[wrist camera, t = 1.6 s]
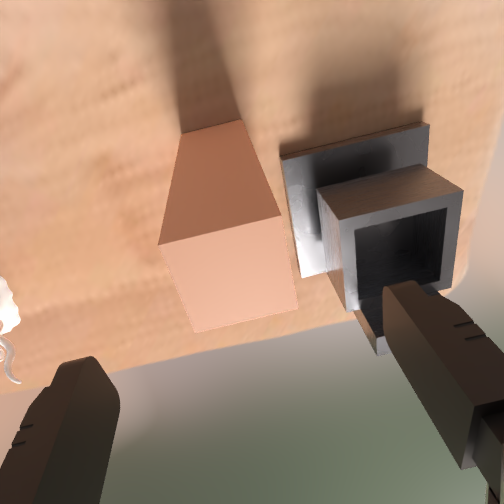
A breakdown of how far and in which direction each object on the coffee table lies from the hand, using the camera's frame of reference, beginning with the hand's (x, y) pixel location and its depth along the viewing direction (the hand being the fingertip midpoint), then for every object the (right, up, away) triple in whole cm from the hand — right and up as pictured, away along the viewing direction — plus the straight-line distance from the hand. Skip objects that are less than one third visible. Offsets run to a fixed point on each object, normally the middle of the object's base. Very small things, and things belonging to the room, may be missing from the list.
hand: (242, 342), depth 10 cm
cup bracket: (+8, +6, +17) cm, 20 cm away
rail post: (-2, +9, +14) cm, 17 cm away
